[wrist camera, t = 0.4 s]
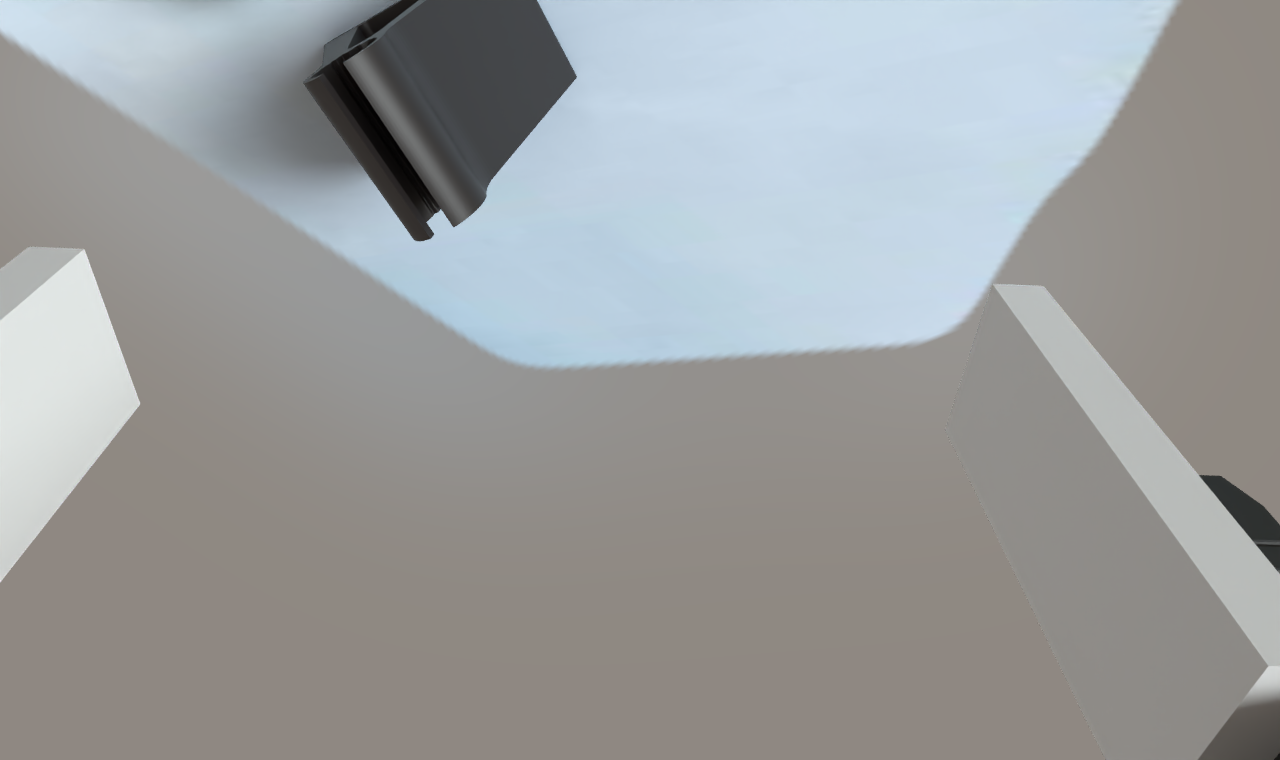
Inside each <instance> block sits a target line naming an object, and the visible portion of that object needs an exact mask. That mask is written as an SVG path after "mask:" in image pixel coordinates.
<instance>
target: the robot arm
mask: <svg viewBox="0 0 1280 760" xmlns="http://www.w3.org/2000/svg"><path fill="white" fill-rule="evenodd" d="M139 405H140V402H139V400H138V397H137V394H136V391H135V388H134V385H133V383H132V380H131V377H130V375H129V372H128V369H127V366H126V363H125V360H124V358H123V355H122V352H121V350H120V347H119V344H118V341H117V338H116V336H115V333H114V330H113V327H112V325H111V322H110V319H109V316H108V313H107V311H106V308H105V305H104V302H103V300H102V297H101V294H100V291H99V289H98V286H97V283H96V280H95V278H94V275H93V272H92V269H91V266H90V264H89V261H88V258H87V255H86V253H85V250H84V249H74V248H73V249H72V248H48V247H28V248H27V249H25V250H24V251H23V252H22V253H20V254H19V255H18V256H16V257H15V258H14V259H12V260H11V261H10V262H9V263H7V264H6V265H5V266H3V267H2V268H1V269H0V582H1V581H2V579H3V578H4V577H5V575H6V574H7V573H8V571H9V570H10V569H11V568H12V566H13V565H14V564H15V563H16V561H17V560H18V559H19V558H20V556H21V555H22V554H23V552H24V551H25V550H26V549H27V547H28V546H29V545H30V544H31V542H32V541H33V540H34V539H35V537H36V536H37V535H38V533H39V532H40V531H41V530H42V528H43V527H44V526H45V525H46V523H47V522H48V521H49V519H50V518H51V517H52V516H53V514H54V513H55V512H56V511H57V509H58V508H59V507H60V506H61V504H62V503H63V502H64V500H65V499H66V498H67V497H68V495H69V494H70V493H71V492H72V490H73V489H74V488H75V486H76V485H77V484H78V483H79V481H80V480H81V479H82V478H83V476H84V475H85V474H86V472H87V471H88V470H89V469H90V467H91V466H92V465H93V464H94V462H95V461H96V460H97V458H98V457H99V456H100V455H101V453H102V452H103V451H104V450H105V448H106V447H107V446H108V445H109V443H110V442H111V441H112V439H113V438H114V437H115V436H116V434H117V433H118V432H119V431H120V429H121V428H122V427H123V425H124V424H125V423H126V421H127V420H128V419H129V418H130V416H131V415H132V414H133V413H134V411H135V410H136V409H137V408H138V406H139ZM945 431H946V433H947V435H948V438H949V440H950V442H951V444H952V446H953V448H954V450H955V452H956V454H957V456H958V458H959V460H960V462H961V464H962V466H963V468H964V470H965V473H966V475H967V477H968V479H969V481H970V483H971V485H972V487H973V489H974V491H975V493H976V495H977V497H978V499H979V501H980V503H981V505H982V507H983V510H984V511H985V513H986V516H987V518H988V519H989V522H990V524H991V526H992V528H993V530H994V532H995V534H996V536H997V538H998V540H999V542H1000V544H1001V547H1002V548H1003V551H1004V553H1005V555H1006V557H1007V559H1008V561H1009V563H1010V565H1011V567H1012V569H1013V571H1014V573H1015V575H1016V577H1017V579H1018V581H1019V584H1020V586H1021V587H1022V590H1023V592H1024V594H1025V596H1026V598H1027V600H1028V602H1029V604H1030V606H1031V608H1032V610H1033V612H1034V614H1035V616H1036V618H1037V621H1038V622H1039V625H1040V627H1041V629H1042V631H1043V633H1044V635H1045V637H1046V639H1047V641H1048V643H1049V645H1050V647H1051V649H1052V651H1053V653H1054V655H1055V658H1056V660H1057V661H1058V664H1059V666H1060V668H1061V670H1062V672H1063V674H1064V676H1065V678H1066V680H1067V682H1068V684H1069V686H1070V688H1071V690H1072V693H1073V695H1074V696H1075V698H1076V701H1077V703H1078V705H1079V707H1080V709H1081V711H1082V713H1083V715H1084V717H1085V719H1086V721H1087V723H1088V725H1089V727H1090V729H1091V732H1092V733H1093V736H1094V738H1095V740H1096V742H1097V744H1098V746H1099V748H1100V750H1101V752H1102V754H1103V756H1104V758H1105V760H1280V525H1279V524H1278V522H1277V521H1276V520H1275V519H1274V518H1273V517H1272V516H1271V515H1270V513H1269V512H1268V511H1267V510H1266V509H1265V507H1264V506H1262V505H1261V504H1260V503H1258V502H1257V501H1255V500H1254V499H1253V498H1251V497H1250V496H1248V495H1247V494H1245V493H1244V492H1243V491H1241V490H1240V489H1238V488H1237V487H1236V486H1234V485H1232V484H1231V483H1230V482H1229V481H1227V480H1226V479H1224V478H1223V477H1222V476H1207V475H1206V476H1204V475H1198V474H1197V473H1196V472H1195V470H1194V469H1193V468H1192V467H1191V465H1190V464H1189V463H1188V462H1187V460H1186V459H1185V458H1184V457H1183V456H1182V455H1181V453H1180V452H1179V451H1178V449H1177V448H1176V447H1175V446H1174V445H1173V443H1172V442H1171V441H1170V440H1169V439H1168V437H1167V436H1166V435H1165V434H1164V432H1163V431H1162V430H1161V429H1160V428H1159V427H1158V425H1157V424H1156V423H1155V421H1154V420H1153V419H1152V418H1151V417H1150V416H1149V414H1148V413H1147V412H1146V410H1145V409H1144V408H1143V407H1142V406H1141V404H1140V403H1139V402H1138V401H1137V399H1136V398H1135V397H1134V396H1133V395H1132V393H1131V392H1130V391H1129V390H1128V389H1127V387H1126V386H1125V385H1124V384H1123V382H1122V381H1121V380H1120V379H1119V378H1118V376H1117V375H1116V374H1115V373H1114V372H1113V370H1112V369H1111V368H1110V367H1109V365H1108V364H1107V363H1106V362H1105V361H1104V359H1103V358H1102V357H1101V356H1100V354H1099V353H1098V352H1097V351H1096V350H1095V348H1094V347H1093V346H1092V345H1091V344H1090V342H1089V341H1088V340H1087V339H1086V337H1085V336H1084V335H1083V334H1082V332H1081V331H1080V330H1079V329H1078V328H1077V326H1076V325H1075V324H1074V323H1073V322H1072V320H1071V319H1070V318H1069V317H1068V315H1067V314H1066V313H1065V312H1064V311H1063V309H1062V308H1061V307H1060V306H1059V305H1058V303H1057V302H1056V301H1055V300H1054V298H1053V297H1052V296H1051V295H1050V294H1049V292H1048V291H1047V290H1046V289H1045V287H1044V286H1034V285H1032V286H1031V285H1008V284H992V287H991V290H990V293H989V296H988V299H987V302H986V305H985V308H984V311H983V314H982V318H981V320H980V324H979V327H978V330H977V333H976V336H975V339H974V342H973V345H972V348H971V351H970V354H969V357H968V360H967V364H966V367H965V370H964V373H963V376H962V379H961V382H960V385H959V388H958V391H957V394H956V397H955V400H954V404H953V407H952V410H951V413H950V416H949V419H948V422H947V425H946V429H945Z"/></svg>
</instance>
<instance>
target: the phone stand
mask: <svg viewBox="0 0 1280 760" xmlns="http://www.w3.org/2000/svg"><path fill="white" fill-rule="evenodd" d="M576 78H577V76H576V74H575V72H574V70H573V68H572V67H571V65H570V63H569V61H568V59H567V57H566V55H565V53H564V51H563V49H562V47H561V46H560V44H559V42H558V40H557V38H556V36H555V34H554V32H553V30H552V28H551V26H550V25H549V23H548V21H547V19H546V17H545V15H544V13H543V11H542V9H541V7H540V5H539V4H538V2H537V0H401V1H399V2H397V3H395V4H394V5H392V6H390V7H389V8H387V9H385V10H383V11H382V12H380V13H378V14H376V15H375V16H373V17H371V18H370V19H368V20H366V21H364V22H363V23H361V24H359V25H357V26H356V27H354V28H352V29H351V30H349V31H347V32H345V33H344V34H342V35H340V36H338V37H337V38H335V39H333V40H332V41H330V42H328V43H327V44H325V45H324V57H323V65H322V66H321V67H320V68H319V69H318V70H317V71H316V72H315V73H313V74H312V75H311V76H310V77H308V78H307V79H306V80H305V81H304V82H303V84H304V85H305V86H306V88H307V89H308V91H309V92H310V94H311V95H312V96H313V98H314V99H315V101H316V102H317V103H318V105H319V106H320V108H321V109H322V110H323V112H324V113H325V115H326V116H327V118H328V119H329V120H330V122H331V123H332V125H333V126H334V127H335V129H336V130H337V132H338V133H339V134H340V136H341V137H342V139H343V140H344V142H345V143H346V144H347V146H348V147H349V149H350V150H351V151H352V153H353V154H354V156H355V157H356V159H357V160H358V161H359V163H360V164H361V166H362V167H363V168H364V170H365V171H366V173H367V174H368V175H369V177H370V178H371V180H372V181H373V183H374V184H375V185H376V187H377V188H378V190H379V191H380V192H381V194H382V195H383V197H384V198H385V200H386V201H387V202H388V204H389V205H390V207H391V208H392V209H393V211H394V212H395V214H396V215H397V216H398V218H399V219H400V221H401V222H402V224H403V225H404V226H405V228H406V229H407V231H408V232H409V233H410V235H411V236H412V238H413V239H414V240H415V241H424V240H428V239H431V238H432V236H433V235H434V233H433V232H432V230H431V229H430V227H429V226H428V224H427V223H426V222H427V221H428V220H429V219H430V218H431V217H433V215H434V214H435V213H437V212H439V211H440V209H442V211H443V212H444V214H445V215H446V217H447V218H448V220H449V221H450V223H451V224H452V226H453V227H455V226H457V225H458V224H460V223H461V222H463V221H464V220H465V219H467V218H468V217H469V216H470V215H472V214H473V213H474V212H475V211H476V210H477V209H478V208H479V207H480V206H481V205H482V203H483V202H484V200H485V198H486V191H487V187H488V185H489V183H490V181H491V180H492V179H493V177H494V176H495V175H496V174H497V172H498V171H499V170H500V169H501V168H502V166H503V165H504V164H505V163H506V162H507V160H508V159H509V158H510V157H511V156H512V154H513V153H514V152H515V151H516V150H517V148H518V147H519V146H520V145H521V144H522V142H523V141H524V140H525V139H526V138H527V136H528V135H529V134H530V133H531V132H532V130H533V129H534V128H535V127H536V126H537V124H538V123H539V122H540V121H541V120H542V118H543V117H544V116H545V115H546V114H547V112H548V111H549V110H550V109H551V108H552V106H553V105H554V104H555V103H556V102H557V100H558V99H559V98H560V97H561V96H562V94H563V93H564V92H565V91H566V90H567V88H568V87H569V86H570V85H571V84H572V82H573V81H574V80H575V79H576Z"/></svg>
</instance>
